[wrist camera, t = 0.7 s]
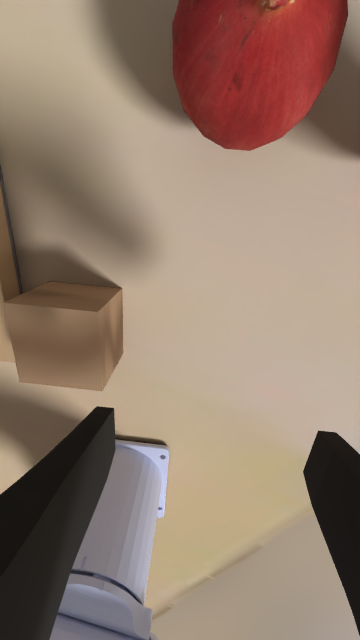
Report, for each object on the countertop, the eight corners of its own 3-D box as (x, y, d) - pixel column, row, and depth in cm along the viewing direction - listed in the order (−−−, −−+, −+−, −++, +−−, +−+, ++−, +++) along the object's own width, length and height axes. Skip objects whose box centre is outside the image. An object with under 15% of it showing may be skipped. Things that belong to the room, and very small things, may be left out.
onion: (156, 89, 13) (97, -67, 6) (253, -25, 11) (349, -469, 4) (227, 187, 14) (253, 163, 7) (322, 100, 13) (489, -53, 5)
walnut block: (123, 352, 19) (102, 391, 15) (58, 345, 20) (19, 382, 15) (122, 287, 17) (97, 312, 13) (49, 281, 18) (3, 302, 13)
